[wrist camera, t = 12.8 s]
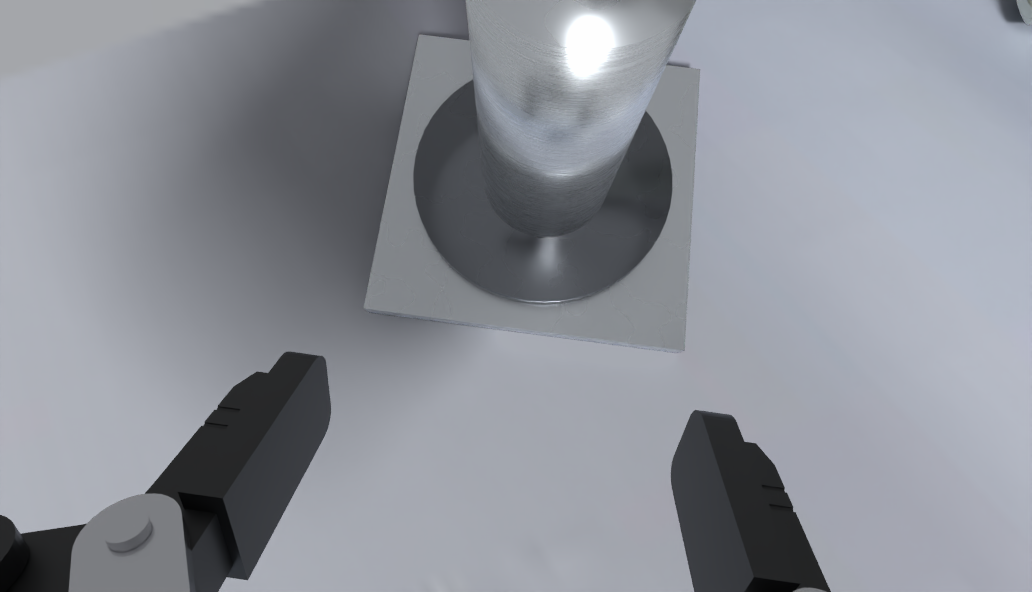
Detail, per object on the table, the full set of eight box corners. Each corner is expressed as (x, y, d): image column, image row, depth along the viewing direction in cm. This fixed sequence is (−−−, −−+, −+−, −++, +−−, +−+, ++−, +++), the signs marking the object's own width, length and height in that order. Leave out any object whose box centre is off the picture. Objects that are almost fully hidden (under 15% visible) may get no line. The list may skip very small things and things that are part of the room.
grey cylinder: (612, 129, 20) (714, -140, 10) (602, 244, 19) (704, 64, 9) (492, 115, 20) (479, -168, 10) (474, 228, 19) (441, 31, 9)
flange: (693, 81, 22) (705, 59, 21) (677, 353, 19) (690, 348, 18) (422, 47, 22) (416, 23, 21) (368, 312, 20) (358, 304, 18)
